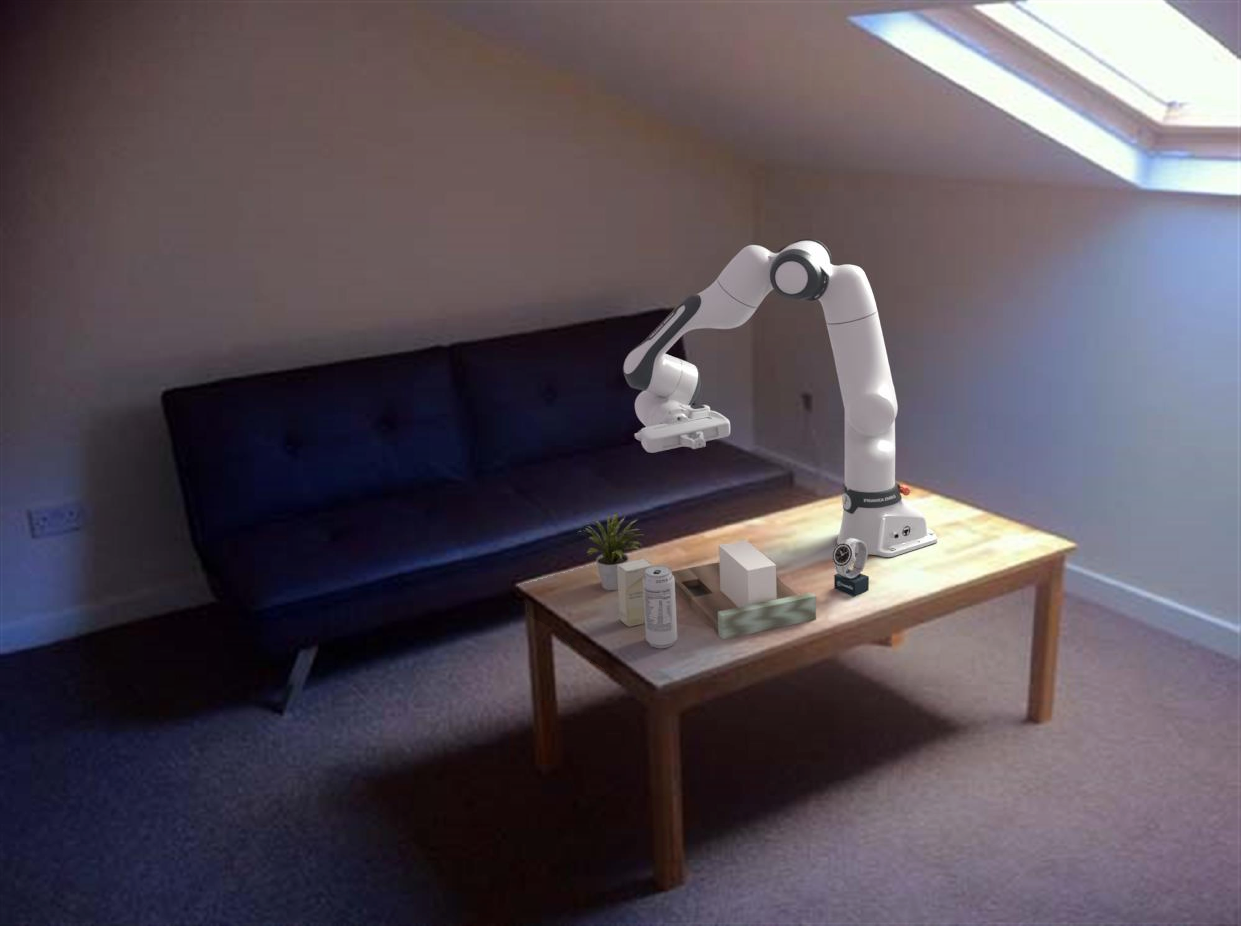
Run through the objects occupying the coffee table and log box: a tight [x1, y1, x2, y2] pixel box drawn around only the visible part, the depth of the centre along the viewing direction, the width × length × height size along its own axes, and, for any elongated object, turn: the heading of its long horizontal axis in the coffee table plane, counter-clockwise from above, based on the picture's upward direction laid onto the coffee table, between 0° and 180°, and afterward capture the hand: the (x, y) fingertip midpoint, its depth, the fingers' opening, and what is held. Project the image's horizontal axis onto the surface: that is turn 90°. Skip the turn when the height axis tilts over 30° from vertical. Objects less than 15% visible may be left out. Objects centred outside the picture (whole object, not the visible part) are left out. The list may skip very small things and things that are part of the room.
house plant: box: [577, 511, 643, 591], centre depth 237 cm, size 14×14×16 cm
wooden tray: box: [671, 561, 817, 640], centre depth 229 cm, size 20×30×5 cm, turn 18°
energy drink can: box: [643, 565, 678, 649], centre depth 212 cm, size 6×6×15 cm
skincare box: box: [617, 558, 654, 628], centre depth 222 cm, size 6×4×12 cm
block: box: [718, 539, 777, 607], centre depth 223 cm, size 6×14×10 cm, turn 18°
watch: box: [831, 538, 870, 597], centre depth 230 cm, size 6×8×11 cm
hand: (699, 444), depth 240 cm, fingers closed
